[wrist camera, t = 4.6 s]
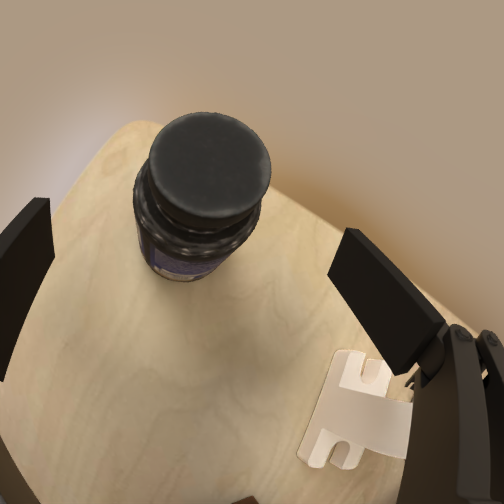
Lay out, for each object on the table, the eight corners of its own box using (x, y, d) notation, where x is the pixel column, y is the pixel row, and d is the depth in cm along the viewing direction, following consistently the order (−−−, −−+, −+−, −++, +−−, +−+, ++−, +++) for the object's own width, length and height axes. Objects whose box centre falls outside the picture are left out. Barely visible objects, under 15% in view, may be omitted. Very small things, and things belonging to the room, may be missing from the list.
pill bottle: (240, 243, 22) (318, 176, 12) (180, 302, 20) (211, 279, 9) (184, 184, 22) (217, 79, 11) (121, 236, 19) (96, 150, 9)
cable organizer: (379, 362, 24) (472, 367, 14) (342, 462, 20) (424, 502, 11) (336, 347, 23) (434, 351, 13) (294, 458, 19) (373, 512, 10)
